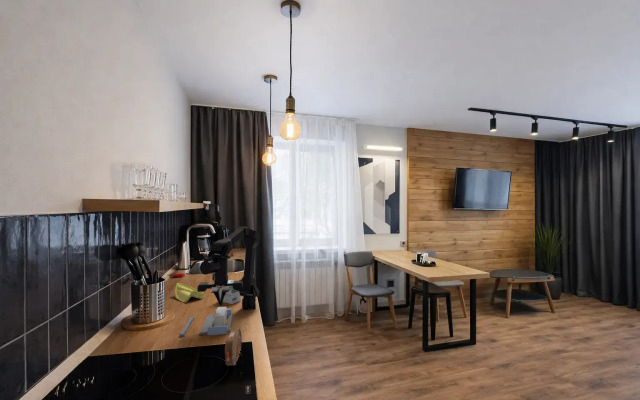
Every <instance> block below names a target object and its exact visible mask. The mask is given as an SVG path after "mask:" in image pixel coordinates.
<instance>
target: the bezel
mask: <svg viewBox="0 0 640 400" xmlns="http://www.w3.org/2000/svg"><path fill="white" fill-rule="evenodd" d="M216 310H217V309H215V310H214V314H215V313H216ZM232 310H233V309H232V308H227V317H229V315H230V314H233V313H232V312H233V311H232ZM227 334H228V333H227V324H225V325H224V326H214V325H213V326H212V327H208V334H207V336H218V335H219V336H220V335H227Z"/></svg>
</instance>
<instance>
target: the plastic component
mask: <svg viewBox="0 0 640 400" xmlns="http://www.w3.org/2000/svg"><path fill="white" fill-rule="evenodd" d="M204 295H205V292H197V288H194V287H192V286H190V285H187V284H184V283H180V282H177V283H176V284H175V287H174V297H175V299H177V300H178V301H180V302H182V303H187V302H188V301H189V300H190V298H196V299H200V300H202V299H203V297H204Z"/></svg>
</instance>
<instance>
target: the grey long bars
mask: <svg viewBox="0 0 640 400" xmlns="http://www.w3.org/2000/svg"><path fill="white" fill-rule="evenodd" d="M214 316H215V314H209V315H207V316H206V318H205V320H204V322H203V324H202V326H201V329H200V331H199V336H203V335H204V336H205V335H208V327H212V326H214ZM233 317H234V313H232V314H230V315H229V316H228V318H227V321H226V325H227V334H228V333H229V334H230V332H231V331H230V329H231V326H232V321H233ZM194 319H195V316H190V317H189V319H188V321H187V322H186V324H185V325H184V327H183V328H182V329H181V331H180V333H179V338H183V337H185V335H186V333H187V332H188V330H189V328H190V326H191V325H192V323H193V321H194Z"/></svg>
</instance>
